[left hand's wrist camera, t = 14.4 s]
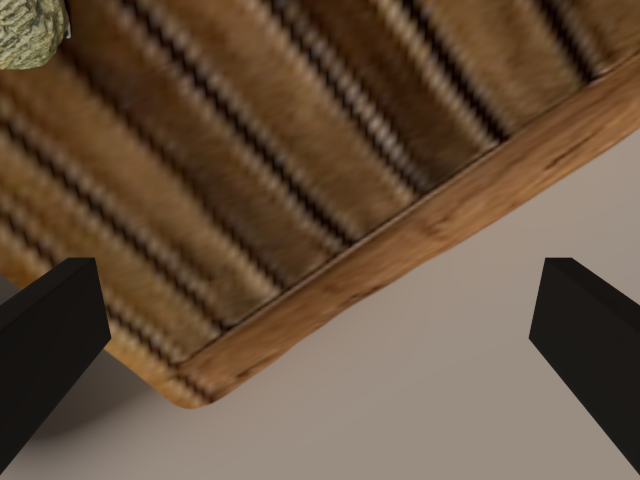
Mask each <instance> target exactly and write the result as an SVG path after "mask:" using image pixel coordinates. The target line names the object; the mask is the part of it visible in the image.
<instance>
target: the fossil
mask: <svg viewBox="0 0 640 480" xmlns="http://www.w3.org/2000/svg"><path fill="white" fill-rule="evenodd" d="M70 37H71V33H70V23H69V17H68V14H67V11H66V8H65V3H64V0H0V70H2V69H30V68H34V67H41V66H43V65H45V64H46V63H47V62H48V61H49V59H50V58H51V57H52V56H53V55H54V54H55V53H56V50H57V46H58V45H59V44H60V43H61V42H62V39H63V38H70Z"/></svg>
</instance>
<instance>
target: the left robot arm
mask: <svg viewBox="0 0 640 480" xmlns="http://www.w3.org/2000/svg"><path fill="white" fill-rule="evenodd" d="M110 339H111V334H110V329H109V324H108V320H107V315H106V310H105V305H104V300H103V296H102V291H101V286H100V281H99V276H98V271H97V267H96V262H95V258H67V259H66V260H64V261H63V262H61V263H60V264H59V265H57V266H56V267H54V268H53V269H51V270H50V271H49V272H47V273H46V274H44V275H43V276H41V277H40V278H39V279H37V280H36V281H34V282H33V283H31V284H30V285H29V286H27V287H26V288H24V289H23V290H21V291H20V292H19V293H17V294H16V295H14V296H13V297H12V298H10V299H9V300H7V301H6V302H4V303H3V304H2V305H0V475H1V474H2V472H3V471H4V470H5V469H6V467H7V466H8V465H9V464H10V463H11V461H12V460H13V459H14V458H15V456H16V455H17V454H18V453H19V451H20V450H21V449H22V448H23V446H24V445H25V444H26V443H27V442H28V440H29V439H30V438H31V437H32V435H33V434H34V433H35V432H36V431H37V429H38V428H39V427H40V425H41V424H42V423H43V422H44V421H45V419H46V418H47V417H48V416H49V414H50V413H51V412H52V411H53V410H54V408H55V407H56V406H57V405H58V403H59V402H60V401H61V400H62V399H63V397H64V396H65V395H66V393H67V392H68V391H69V390H70V389H71V387H72V386H73V385H74V384H75V382H76V381H77V380H78V379H79V378H80V376H81V375H82V374H83V373H84V371H85V370H86V369H87V368H88V366H89V365H90V364H91V363H92V362H93V360H94V359H95V358H96V357H97V355H98V354H99V353H100V352H101V350H102V349H103V348H104V347H105V346H106V344H107V343H108V342H109V341H110ZM529 339H530V341H531V342H532V343H533V344H534V346H535V347H536V348H537V349H538V350H539V352H540V353H541V354H542V355H543V357H544V358H545V359H546V360H547V362H548V363H549V364H550V365H551V366H552V368H553V369H554V370H555V371H556V373H557V374H558V375H559V376H560V378H561V379H562V380H563V381H564V383H565V384H566V385H567V386H568V387H569V389H570V390H571V391H572V392H573V394H574V395H575V396H576V397H577V399H578V400H579V401H580V402H581V403H582V405H583V406H584V407H585V408H586V410H587V411H588V412H589V413H590V415H591V416H592V417H593V418H594V419H595V421H596V422H597V423H598V424H599V426H600V427H601V428H602V429H603V430H604V432H605V433H606V434H607V435H608V437H609V438H610V439H611V440H612V442H613V443H614V444H615V445H616V447H617V448H618V449H619V450H620V451H621V453H622V454H623V455H624V456H625V458H626V459H627V460H628V461H629V463H630V464H631V465H632V466H633V467H634V469H635V470H636V471H637V472H638V474H639V475H640V305H638V304H637V303H636V302H634V301H633V300H631V299H630V298H628V297H627V296H626V295H624V294H623V293H621V292H620V291H619V290H617V289H616V288H614V287H613V286H611V285H610V284H609V283H607V282H606V281H604V280H603V279H601V278H600V277H599V276H597V275H596V274H594V273H593V272H591V271H590V270H589V269H587V268H586V267H584V266H583V265H581V264H580V263H579V262H577V261H576V260H574V259H573V258H545V262H544V267H543V271H542V276H541V281H540V286H539V291H538V296H537V300H536V305H535V310H534V315H533V320H532V324H531V329H530V334H529Z"/></svg>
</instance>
